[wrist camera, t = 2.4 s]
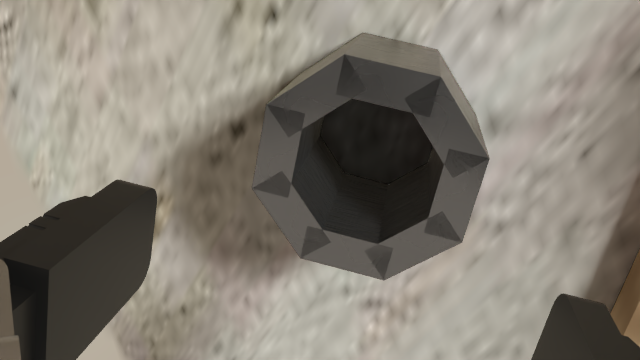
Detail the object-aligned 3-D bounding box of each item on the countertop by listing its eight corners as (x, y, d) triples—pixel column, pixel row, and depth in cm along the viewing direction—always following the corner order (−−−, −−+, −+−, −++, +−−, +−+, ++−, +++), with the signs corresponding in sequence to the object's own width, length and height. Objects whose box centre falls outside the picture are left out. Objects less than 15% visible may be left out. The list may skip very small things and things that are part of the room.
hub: (311, 20, 20) (277, 38, 16) (491, 62, 20) (511, 93, 15) (279, 185, 23) (242, 242, 18) (440, 226, 22) (444, 296, 18)
